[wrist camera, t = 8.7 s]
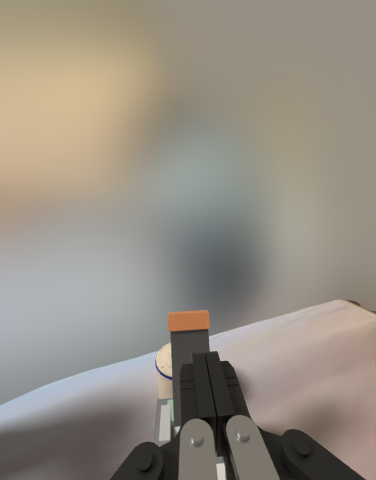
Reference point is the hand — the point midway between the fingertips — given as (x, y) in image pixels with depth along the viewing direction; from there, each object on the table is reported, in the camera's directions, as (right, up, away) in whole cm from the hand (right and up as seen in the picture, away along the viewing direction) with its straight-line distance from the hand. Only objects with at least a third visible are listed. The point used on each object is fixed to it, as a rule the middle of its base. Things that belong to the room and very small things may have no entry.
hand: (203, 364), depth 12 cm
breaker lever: (0, -17, +13) cm, 21 cm away
